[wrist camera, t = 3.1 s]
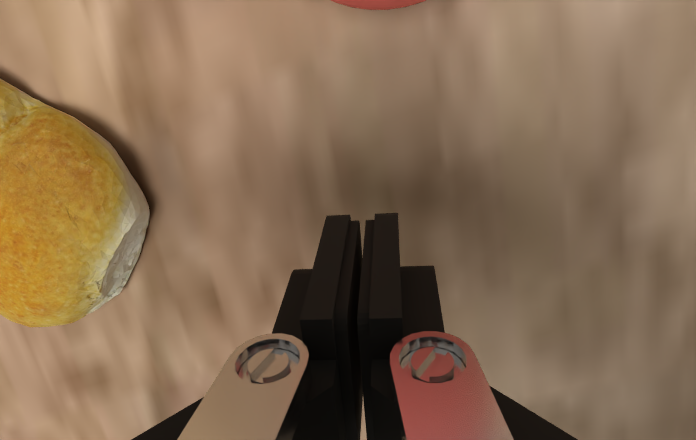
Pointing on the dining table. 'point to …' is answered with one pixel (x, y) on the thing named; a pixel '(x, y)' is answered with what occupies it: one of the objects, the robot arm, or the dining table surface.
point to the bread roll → (62, 215)
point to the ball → (378, 3)
